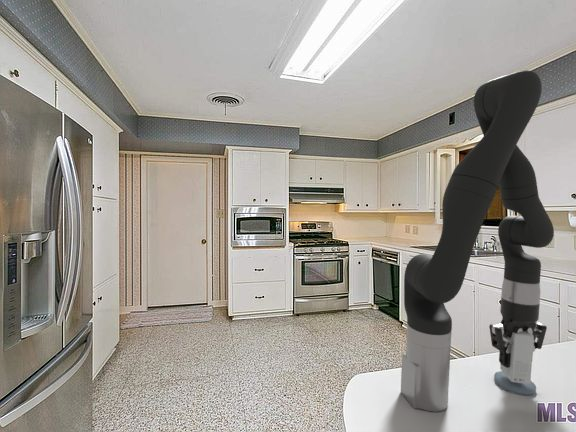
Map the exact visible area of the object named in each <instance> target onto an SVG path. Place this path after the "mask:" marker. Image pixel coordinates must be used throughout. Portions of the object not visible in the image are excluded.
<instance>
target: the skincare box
mask: <svg viewBox="0 0 576 432" xmlns="http://www.w3.org/2000/svg"><path fill="white" fill-rule="evenodd" d="M512 337H513V345H512V347H511V352H510V353H511V358H510V367H509V368H506V367H504V366H503V365H501V363H500V366H499V367H500V368H499V369H500V370H501V371H503V373H504V374H505V375H506V376H507V377H508V378H509V380H510V381H511V382H516V383H525V384H530V382H531V381H532V368H533V367H532V366H533V365H532V364H533V357H532V353H533V354H534V352H533V338H534V336H533V335H532V334H531V333H527V332H522V333H520V334H516V333H514V332H513V333H512ZM512 337H511V338H509V337H508V336H507V338H508V339H509V340H511V339H512ZM506 346H507V342H506V344H505V347H506Z"/></svg>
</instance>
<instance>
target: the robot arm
mask: <svg viewBox="0 0 576 432" xmlns="http://www.w3.org/2000/svg"><path fill="white" fill-rule="evenodd" d="M542 87H543V86H542V80H541V77H539V75H538V74H537V73H536V72H534V71H532V70H527V69H526V70H520V71H516V72H512V73H509V74H506V75H502V76H500V77H496V78H494V79H493V78H492V79H491V80H488V81H485V82H484V83H482V84H481V85H479V87H478V88H477V89H476V92H475V93H474V96H473V108H474V112H475V115H476V119H477V122H478V123H479V127H480V130H481V132H482V135H483V137H482V138H481V139H480V140H479V141H478V142H477V144H475V145H474V146H473V147H472V148H471V150H469V151H468V152H467V153H466V155H464V157H463V158H462V159H461V160H460V161H459V162H458V164H457V165H456V166H455V168H454V170H453V172H452V173H451V176H450V179H449V180H448V183H447V184H446V185H447V186H446V187H445V190H444V194H443V196H442V197H443V198H442V206H441V207H442V212H441V213H442V214H441V215H442V228H441V235H440V237H439V241H438V242H437V243H438V244H437V246H436V248H435V249H434V253H433V255H432V254H428V253H420V254H417V255H415V256H413V257H412V258H411V259H410V260H409V261H408V263H407V265H406V267H405V270H404V275H403V276H404V277H403V278H404V279H403V280H404V281H403V289H404V290H403V293H404V295H403V299H404V300H403V303H404V310H405V313H406V319H407V320H406V323H407V324H406V339H405V340H406V342H405V352H404V353H403V352H402V354H401V371H400V372H401V375H400V377H401V378H400V393H401V394H402V395H403V396H404V398H405V399H406V400H407V402H408V403H409V404H410V405H411V406H412V408H413V409H420V410H424V411H426V412H427V411H428V412H435V413H436V412H441V411H444V410H445V409H447V407H448V405H449V389H450V369H451V368H450V367H451V364H450V363H451V351H452V350H451V346H452V345H451V344H452V329H453V328H452V326H453V321H452V317H451V315H450V313H449V312H448V310H447V308H446V306H445V304H447V303H449V302H451V301H452V300H454V298H455V297H457V294H459V292H460V290H461V288H462V286H463V283H464V281H465V277H466V274H467V270H468V266H469V263H470V260H471V256H472V253H473V250H474V247H475V243H476V241H477V238H478V236H479V234H480V230H481V228H482V226H483V224H484V220H485V219H486V216H487V214H488V212H489V209H490V207H491V205H492V202H493V200H494V198H495V196H496V193H497V190H498V189H499V193H500V200H501V203H502V207H504V208H505V209H506V210H509V211H511V212H515V213H517V214H519V215H507V216H505V217H504V218H503V219H502V220H501V221H500V223H499V225H498V229H497V231H498V232H497V233H498V239H499V244H500V247H501V251H502V256H503V260H504V270H503V272H504V273H503V281H502V284H501V296H500V314H501V316H502V318H501V319H502V320H501V321H500V323H499V324H493V323H490V324H489V326H488V327H489V333H490V334H489V335H490V341H491V342H490V343H491V346H492V347H493V348H495V349H496V350H498V351H499V354H498V355H499V356H498V363H500V364H501V365H503V366H504V367H506V368H509V367H510V358H511V353H510V352H511V347H512V345H513V337H512V333H513V332H514V333H516V334H520V333H522V332H527V333H531V334H532V335H533V336H534V338H533V353H532V358H533V357H534V356H533V355H534V352H536V350H537V349H538V350H540V349H542V347H543V344H544V340H545V337H546V336H545V335H546V332H547V329H548V326H546V325H545V324H543V323H540V322H538V321H539V319H540V317H539V316H540V304H541V283H540V282H541V273H542V271H541V269H542V263H541V260H540V259H538V258H537V257H535V256H532V255H530V254H528V253H526V252H525V250H524V248H523V247H529V248H530V247H531V248H537V249H539V248H541V249H542V248H545V247H547V246H548V245H550V244H551V242H552V241H553V239H554V236H555V229H554V226H553V223H552V220H551V218H550V216H549V214H548V213H547V211H546V209H545V207H544V205H543V203H542V201H541V199H540V197H539V189H538V181H537V175H536V172H535V169H534V166H533V165H532V164H531V162H530V160H529V159H528V157H527V156H526V155H525V153H523V151H522V150H521V149H520V147H519V145H518V142H519V141H520V140H521V137H522V135H523V133H524V132H525V130H526V128H527V126H528V124H529V122H531V121H530V120H531V119H532V117H533V115H534V114H535V112H536V110H537V107H538V106H539V103H540V100H541V97H542V96H541V95H542V89H543V88H542ZM507 336H508V337H509V338H511V337H512V339H511V340H509V339H508V338H507ZM536 339H537V341H536ZM506 342H507V346H506V347H505V344H506Z"/></svg>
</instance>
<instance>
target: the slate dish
mask: <svg viewBox="0 0 576 432" xmlns="http://www.w3.org/2000/svg"><path fill="white" fill-rule="evenodd" d="M493 377H494V378H493V381H494V382H496V383H495V384H496V385H497V386H498V387H500V388H501V389H502V390H504V391H507V392H509V393H512V394H515V395H518V396H522V397H523V396H525V397H528V396H529V397H530V396H534V395H535V394H536V391H537V387H536V386H537V385H536V384H535V383H534V382H533V381H532V380H531V382H530V384H525V383H516V382H511V381H510V380H509V378H508V377H507V376H506V375H505V374H504V373H503V371H502V370H501V371H497V372H495V373H494V375H493Z"/></svg>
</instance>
